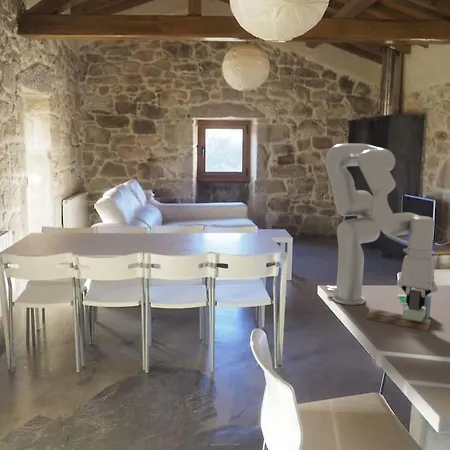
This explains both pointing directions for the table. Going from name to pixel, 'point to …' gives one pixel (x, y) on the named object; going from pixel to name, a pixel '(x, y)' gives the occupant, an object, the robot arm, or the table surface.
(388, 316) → the rail board
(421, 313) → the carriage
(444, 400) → the table surface
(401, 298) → the smartphone
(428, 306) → the cabinet
